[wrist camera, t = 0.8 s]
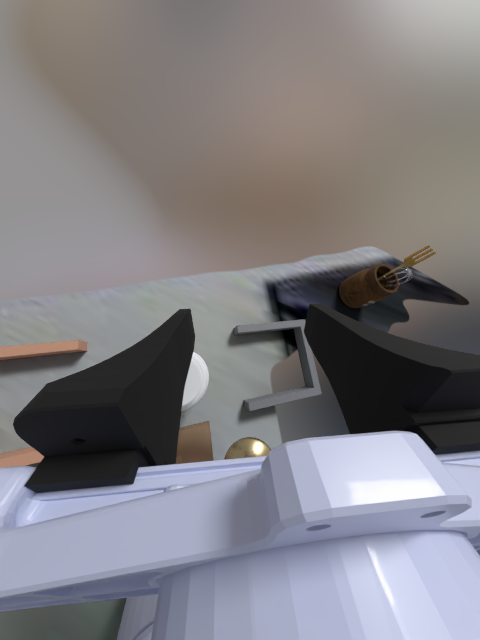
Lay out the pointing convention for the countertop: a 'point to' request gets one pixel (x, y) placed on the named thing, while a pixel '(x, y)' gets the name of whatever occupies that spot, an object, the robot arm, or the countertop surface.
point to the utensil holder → (375, 282)
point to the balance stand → (194, 444)
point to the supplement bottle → (195, 382)
